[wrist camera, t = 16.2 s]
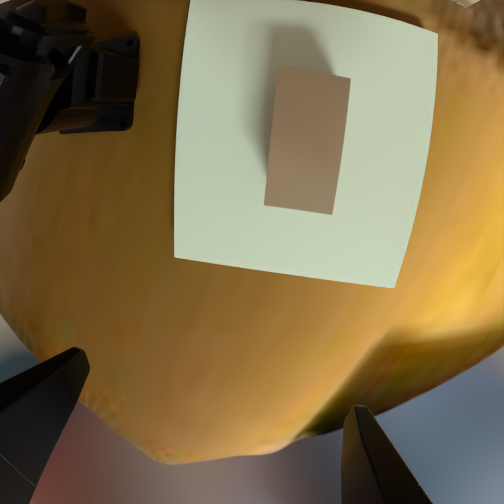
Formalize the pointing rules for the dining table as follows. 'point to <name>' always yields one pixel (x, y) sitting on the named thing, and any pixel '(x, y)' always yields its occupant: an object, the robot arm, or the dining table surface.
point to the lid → (301, 138)
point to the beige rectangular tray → (465, 2)
